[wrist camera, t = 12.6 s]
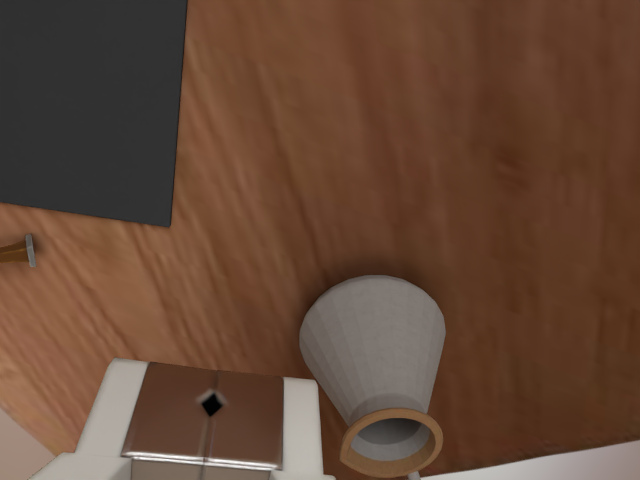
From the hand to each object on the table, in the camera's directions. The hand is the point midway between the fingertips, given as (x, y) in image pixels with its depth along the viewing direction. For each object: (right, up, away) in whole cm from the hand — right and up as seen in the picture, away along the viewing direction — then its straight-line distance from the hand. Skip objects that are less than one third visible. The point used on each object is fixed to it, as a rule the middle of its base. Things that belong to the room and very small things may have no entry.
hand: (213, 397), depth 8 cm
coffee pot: (+7, -8, +40) cm, 41 cm away
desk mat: (-18, +12, +26) cm, 34 cm away
